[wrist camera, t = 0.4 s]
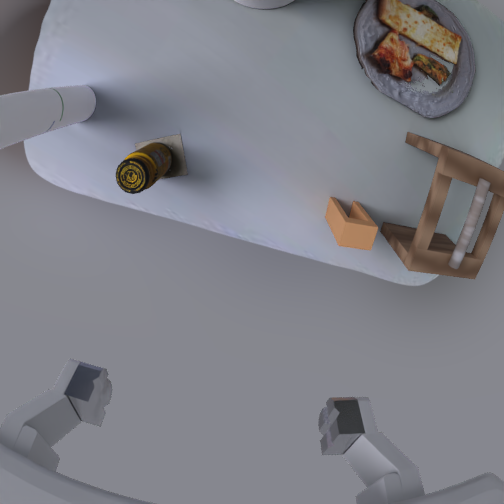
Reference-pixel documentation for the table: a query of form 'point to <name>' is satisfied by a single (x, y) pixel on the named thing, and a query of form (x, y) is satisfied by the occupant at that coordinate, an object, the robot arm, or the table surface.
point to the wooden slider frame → (424, 238)
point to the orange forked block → (351, 225)
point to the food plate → (414, 52)
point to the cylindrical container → (43, 111)
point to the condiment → (151, 164)
